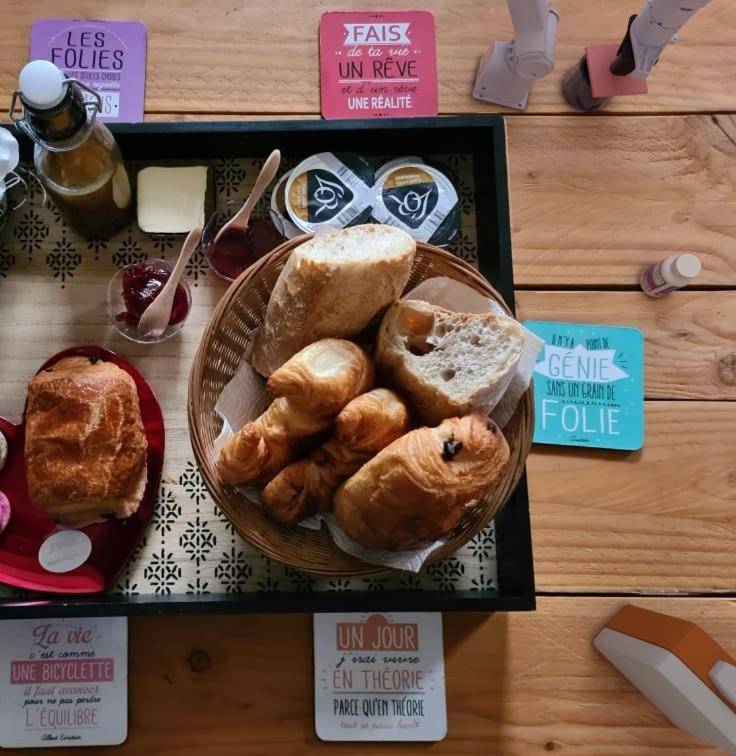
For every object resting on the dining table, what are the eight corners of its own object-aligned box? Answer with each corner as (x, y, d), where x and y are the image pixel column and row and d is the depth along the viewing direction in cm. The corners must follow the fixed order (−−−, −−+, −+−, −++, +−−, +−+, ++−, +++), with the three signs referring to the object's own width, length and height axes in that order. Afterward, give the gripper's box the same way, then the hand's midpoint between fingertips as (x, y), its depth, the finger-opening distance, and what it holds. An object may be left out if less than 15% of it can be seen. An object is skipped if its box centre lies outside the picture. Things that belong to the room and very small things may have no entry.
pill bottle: (673, 275, 126) (710, 257, 116) (663, 302, 125) (699, 287, 115) (644, 262, 126) (679, 243, 116) (633, 289, 125) (667, 273, 116)
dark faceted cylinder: (558, 105, 130) (575, 85, 124) (567, 63, 131) (585, 41, 125) (604, 116, 130) (624, 97, 124) (613, 74, 131) (633, 53, 125)
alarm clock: (711, 685, 116) (815, 727, 95) (675, 727, 115) (773, 778, 94) (622, 600, 118) (706, 623, 97) (587, 640, 117) (664, 672, 96)
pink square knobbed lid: (592, 97, 121) (605, 84, 117) (584, 48, 123) (596, 32, 118) (646, 93, 121) (661, 79, 117) (637, 44, 123) (651, 28, 119)
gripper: (688, 62, 106) (636, 110, 119) (705, -26, 108) (652, 31, 121) (639, 50, 106) (594, 99, 119) (657, -37, 108) (610, 21, 121)
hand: (620, 64), depth 120 cm, fingers closed on pink square knobbed lid, 2 cm apart
